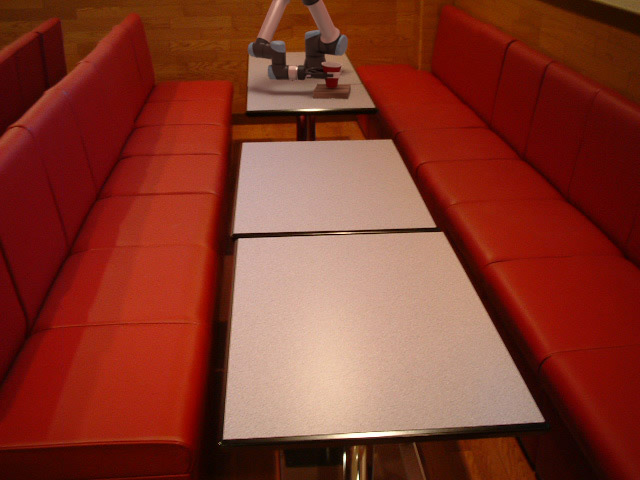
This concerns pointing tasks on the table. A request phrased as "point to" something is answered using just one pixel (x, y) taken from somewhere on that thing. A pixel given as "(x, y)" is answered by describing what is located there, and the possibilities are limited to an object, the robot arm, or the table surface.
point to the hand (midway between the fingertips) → (340, 73)
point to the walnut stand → (332, 91)
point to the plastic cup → (331, 68)
